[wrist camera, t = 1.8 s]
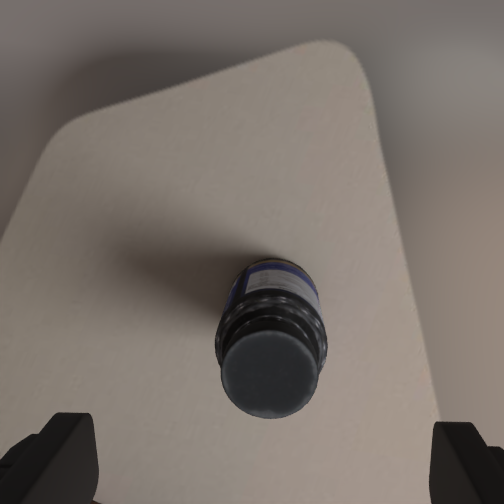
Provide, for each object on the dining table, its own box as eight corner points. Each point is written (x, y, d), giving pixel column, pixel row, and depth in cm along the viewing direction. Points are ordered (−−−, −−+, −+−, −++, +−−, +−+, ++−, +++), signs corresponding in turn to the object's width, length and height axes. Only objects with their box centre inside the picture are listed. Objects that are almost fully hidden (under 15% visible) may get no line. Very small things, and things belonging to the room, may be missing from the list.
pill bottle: (272, 355, 34) (265, 456, 23) (212, 296, 33) (177, 373, 23) (336, 299, 33) (361, 380, 22) (275, 237, 32) (270, 289, 21)
